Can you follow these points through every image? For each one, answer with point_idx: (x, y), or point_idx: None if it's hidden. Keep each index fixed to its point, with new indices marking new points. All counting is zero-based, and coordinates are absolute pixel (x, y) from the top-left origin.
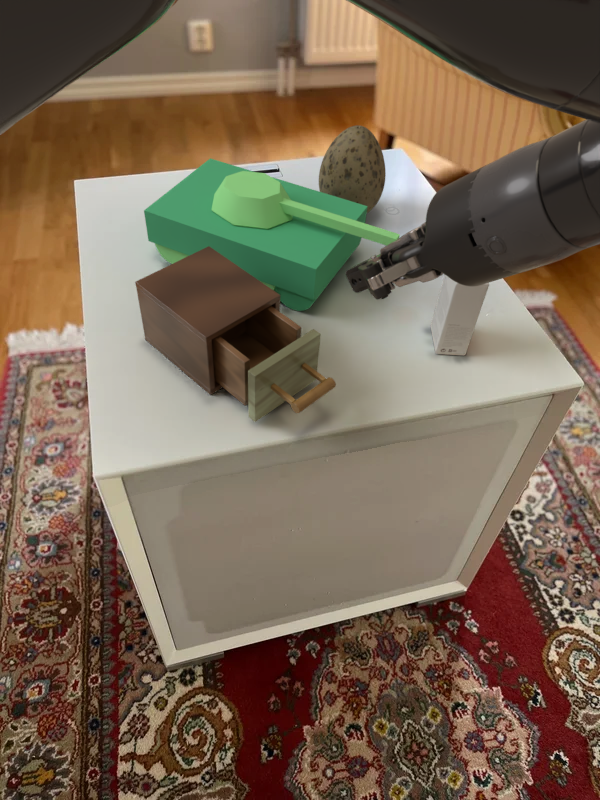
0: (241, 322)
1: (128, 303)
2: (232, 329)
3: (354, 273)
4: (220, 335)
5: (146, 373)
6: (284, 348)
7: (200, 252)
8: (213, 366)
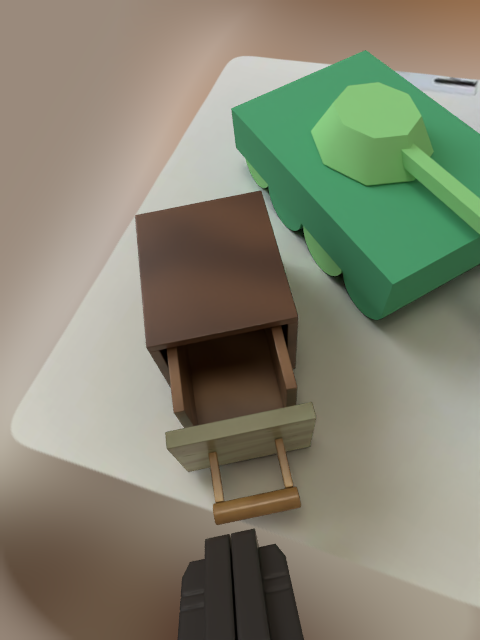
0: None
1: None
2: None
3: (181, 606)
4: None
5: (131, 324)
6: (243, 417)
7: (243, 197)
8: None
